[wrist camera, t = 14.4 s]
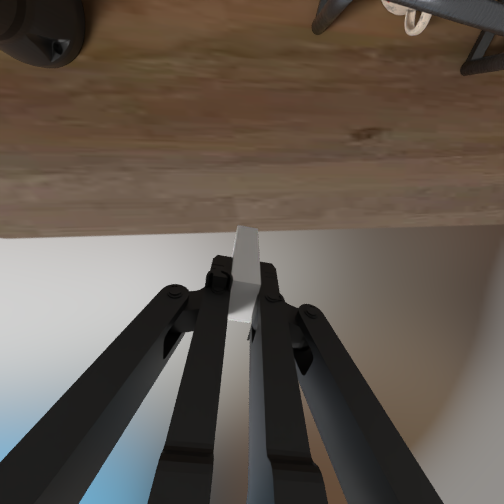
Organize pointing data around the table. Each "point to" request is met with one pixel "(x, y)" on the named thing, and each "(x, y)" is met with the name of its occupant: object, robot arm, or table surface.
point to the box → (448, 7)
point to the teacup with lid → (409, 17)
